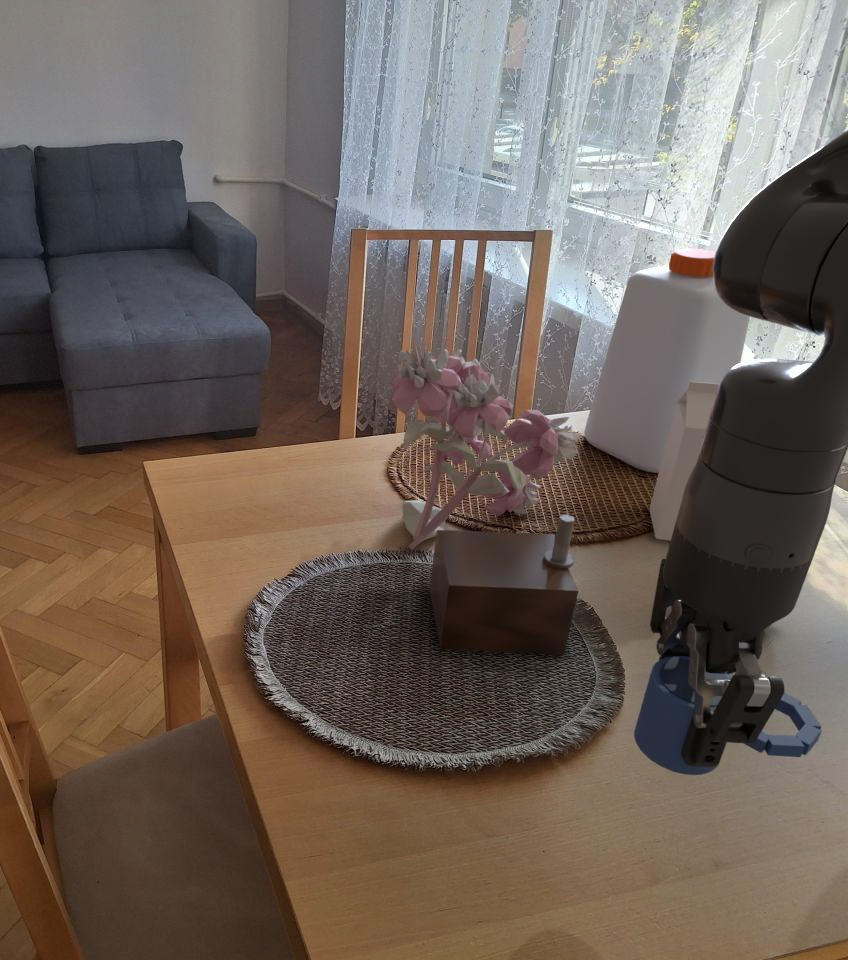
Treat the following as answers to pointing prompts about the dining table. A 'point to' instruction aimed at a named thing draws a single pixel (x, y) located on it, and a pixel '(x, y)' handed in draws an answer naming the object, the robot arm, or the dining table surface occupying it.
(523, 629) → the walnut box
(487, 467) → the flower
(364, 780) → the dining table surface
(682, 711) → the blue mug
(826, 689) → the dining table surface
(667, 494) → the milk carton
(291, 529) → the dining table surface
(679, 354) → the plastic bottle
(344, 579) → the dining table surface
